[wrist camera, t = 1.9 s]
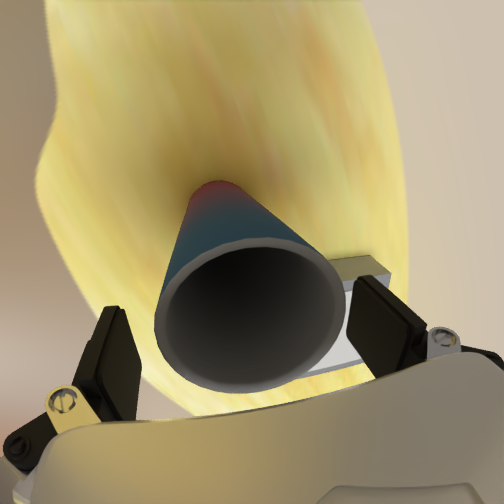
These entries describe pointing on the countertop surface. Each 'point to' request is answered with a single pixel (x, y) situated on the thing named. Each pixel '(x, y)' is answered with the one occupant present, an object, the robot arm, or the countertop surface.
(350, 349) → the riser
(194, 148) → the countertop surface
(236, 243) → the cup
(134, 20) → the countertop surface
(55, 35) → the countertop surface
